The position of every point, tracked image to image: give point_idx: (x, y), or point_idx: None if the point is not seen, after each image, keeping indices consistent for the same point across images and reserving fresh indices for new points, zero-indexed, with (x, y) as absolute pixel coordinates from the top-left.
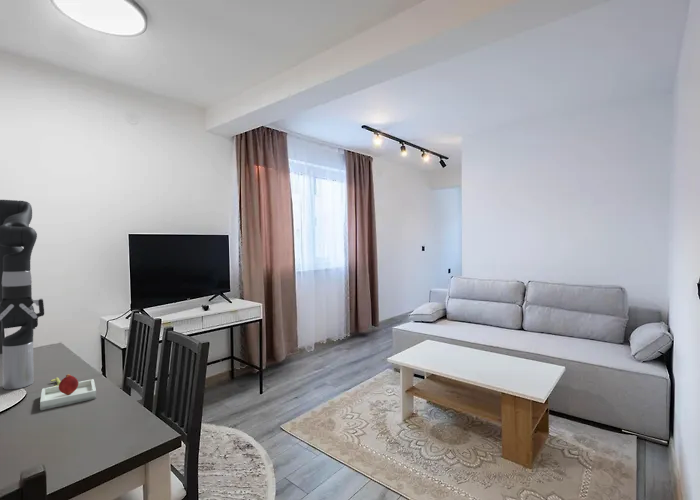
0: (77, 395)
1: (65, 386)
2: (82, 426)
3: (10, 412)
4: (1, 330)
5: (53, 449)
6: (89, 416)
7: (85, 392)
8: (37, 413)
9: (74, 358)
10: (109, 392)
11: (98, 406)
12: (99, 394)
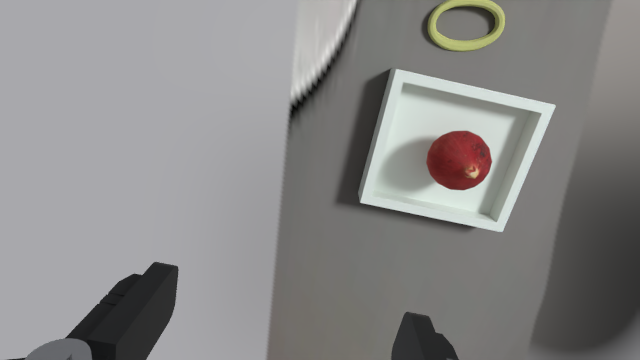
0: (451, 220)
1: (442, 185)
2: None
3: (297, 143)
4: (164, 327)
5: None
6: None
7: (474, 224)
8: (348, 208)
9: None
10: (538, 201)
11: (468, 279)
12: None
